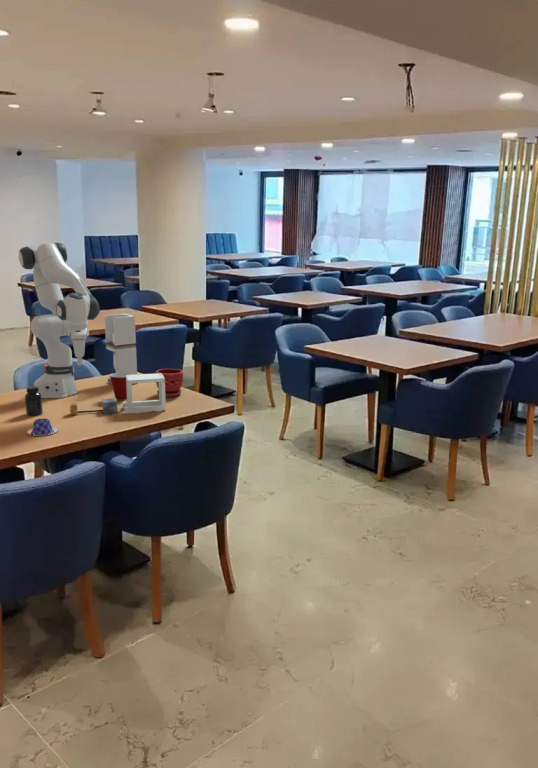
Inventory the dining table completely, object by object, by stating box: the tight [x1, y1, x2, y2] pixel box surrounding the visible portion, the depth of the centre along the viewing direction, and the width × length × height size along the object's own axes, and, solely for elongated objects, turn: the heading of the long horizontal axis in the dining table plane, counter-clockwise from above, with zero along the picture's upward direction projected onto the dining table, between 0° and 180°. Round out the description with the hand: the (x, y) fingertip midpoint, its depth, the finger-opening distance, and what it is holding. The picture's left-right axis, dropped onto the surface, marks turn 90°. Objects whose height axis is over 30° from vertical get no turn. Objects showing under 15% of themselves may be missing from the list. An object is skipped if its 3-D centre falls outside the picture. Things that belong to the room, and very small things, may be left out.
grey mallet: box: [69, 397, 119, 416], centre depth 304 cm, size 20×6×5 cm, turn 107°
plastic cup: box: [108, 372, 133, 401], centre depth 327 cm, size 11×11×12 cm
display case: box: [104, 313, 138, 385], centre depth 352 cm, size 11×11×35 cm
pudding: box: [26, 417, 59, 437], centre depth 278 cm, size 12×12×5 cm
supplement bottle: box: [24, 385, 43, 417], centre depth 301 cm, size 7×7×12 cm
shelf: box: [122, 372, 167, 415], centre depth 309 cm, size 18×10×15 cm, turn 107°
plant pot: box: [155, 368, 184, 398], centre depth 334 cm, size 13×13×12 cm
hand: (79, 362), depth 301 cm, fingers open, 8 cm apart
